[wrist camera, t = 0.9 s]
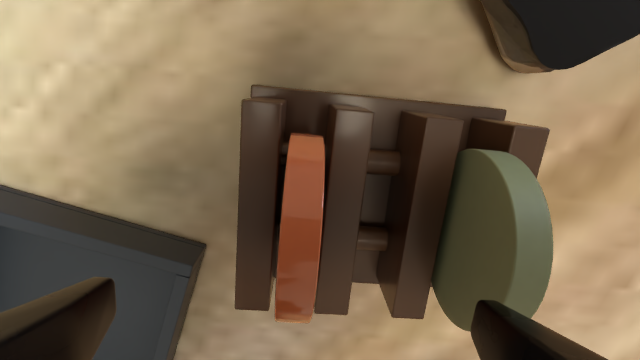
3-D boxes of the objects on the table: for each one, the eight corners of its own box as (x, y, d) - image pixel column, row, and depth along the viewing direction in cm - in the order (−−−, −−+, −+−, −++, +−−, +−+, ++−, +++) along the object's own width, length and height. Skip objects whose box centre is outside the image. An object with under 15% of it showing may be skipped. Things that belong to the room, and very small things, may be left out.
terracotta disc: (306, 261, 17) (307, 372, 11) (283, 260, 17) (269, 370, 11) (319, 125, 16) (330, 155, 9) (293, 123, 16) (284, 151, 9)
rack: (455, 278, 20) (499, 333, 16) (246, 265, 19) (229, 319, 15) (494, 108, 18) (559, 116, 13) (254, 84, 17) (236, 84, 12)
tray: (158, 410, 22) (140, 448, 20) (-32, 368, 20) (-75, 404, 18) (206, 244, 19) (192, 266, 17) (-12, 181, 17) (-59, 196, 15)
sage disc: (438, 269, 18) (519, 380, 11) (416, 268, 18) (484, 379, 11) (466, 138, 16) (582, 177, 9) (441, 136, 16) (541, 173, 9)
